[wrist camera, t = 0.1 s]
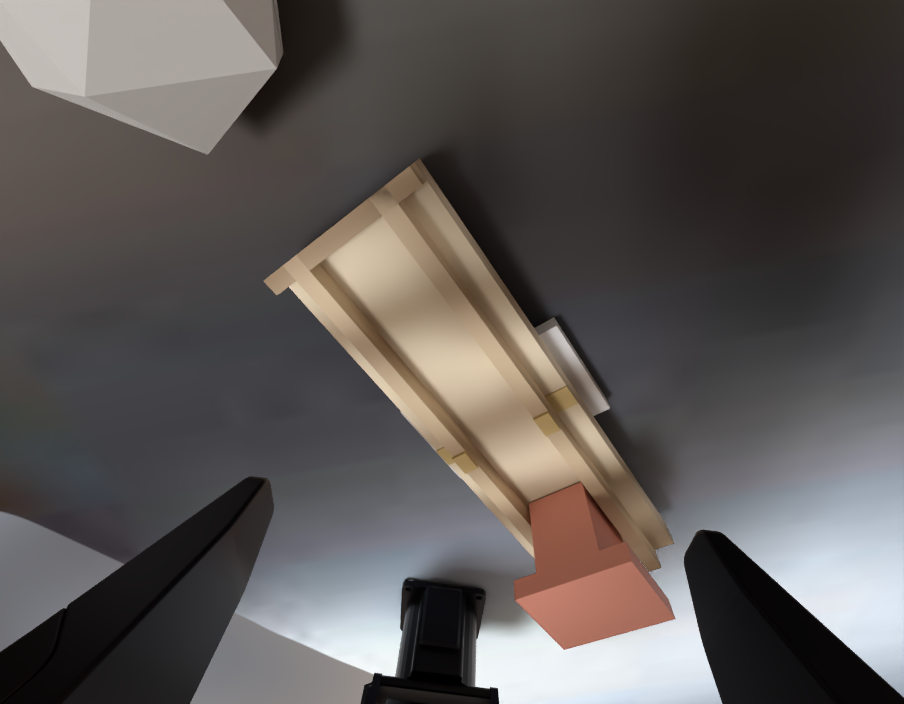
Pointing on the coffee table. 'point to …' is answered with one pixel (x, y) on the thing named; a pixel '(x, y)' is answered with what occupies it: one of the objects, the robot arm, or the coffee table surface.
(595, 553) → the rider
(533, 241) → the coffee table surface
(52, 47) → the die
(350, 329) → the beam
